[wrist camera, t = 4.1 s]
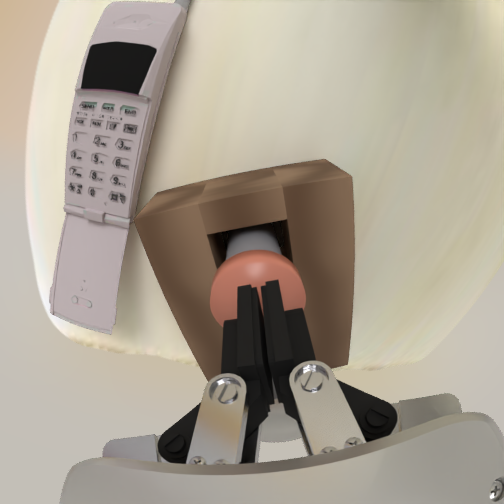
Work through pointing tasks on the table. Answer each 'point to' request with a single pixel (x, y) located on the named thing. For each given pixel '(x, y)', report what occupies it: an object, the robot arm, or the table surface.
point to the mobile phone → (110, 153)
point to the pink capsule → (254, 271)
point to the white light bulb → (279, 424)
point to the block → (295, 248)
